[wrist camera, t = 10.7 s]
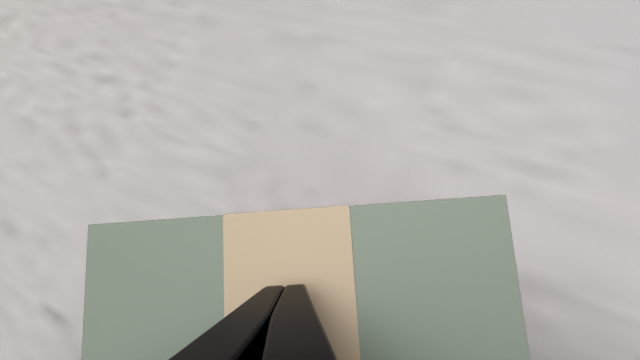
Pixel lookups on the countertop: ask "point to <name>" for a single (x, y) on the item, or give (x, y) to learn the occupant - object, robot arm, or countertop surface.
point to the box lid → (314, 279)
